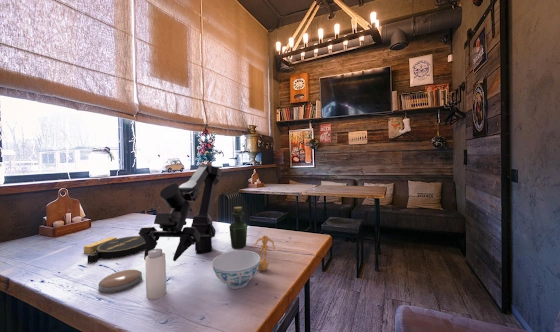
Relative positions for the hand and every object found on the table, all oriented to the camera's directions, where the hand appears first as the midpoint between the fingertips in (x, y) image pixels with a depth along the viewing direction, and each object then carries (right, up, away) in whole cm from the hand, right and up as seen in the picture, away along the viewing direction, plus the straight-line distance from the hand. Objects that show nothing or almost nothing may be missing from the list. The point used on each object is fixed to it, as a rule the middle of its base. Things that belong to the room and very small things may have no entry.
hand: (159, 260), depth 70 cm
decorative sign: (-37, -10, +36) cm, 52 cm away
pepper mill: (0, -9, -2) cm, 10 cm away
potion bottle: (+18, -8, +35) cm, 41 cm away
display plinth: (-15, -10, +5) cm, 19 cm away
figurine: (+31, -9, +13) cm, 35 cm away
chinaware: (+23, -9, +4) cm, 25 cm away
